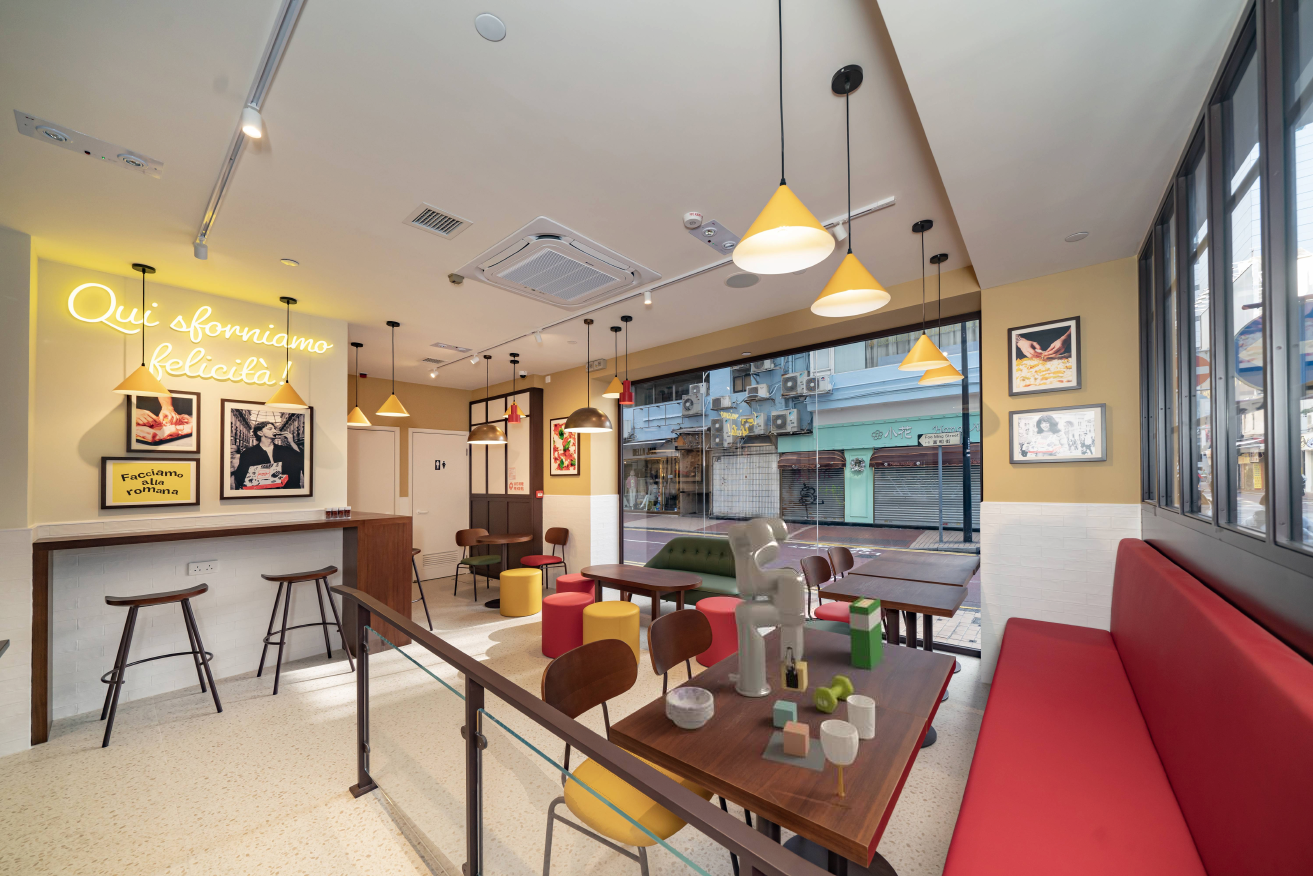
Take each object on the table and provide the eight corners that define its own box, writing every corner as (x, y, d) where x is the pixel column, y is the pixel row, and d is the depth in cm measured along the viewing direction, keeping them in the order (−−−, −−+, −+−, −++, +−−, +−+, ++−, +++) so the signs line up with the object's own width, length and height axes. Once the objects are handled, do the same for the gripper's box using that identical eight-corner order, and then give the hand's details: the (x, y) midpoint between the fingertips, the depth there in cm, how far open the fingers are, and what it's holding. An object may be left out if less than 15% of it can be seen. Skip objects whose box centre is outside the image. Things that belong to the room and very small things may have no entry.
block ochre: (782, 688, 142) (781, 666, 142) (786, 680, 147) (785, 659, 148) (803, 691, 139) (803, 669, 140) (807, 683, 145) (806, 662, 145)
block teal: (773, 727, 156) (773, 707, 156) (777, 719, 161) (777, 699, 162) (793, 731, 153) (792, 711, 154) (797, 723, 159) (796, 703, 159)
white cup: (874, 744, 145) (872, 708, 146) (845, 737, 149) (844, 702, 150) (878, 732, 152) (876, 698, 152) (851, 726, 156) (849, 692, 157)
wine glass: (853, 814, 116) (850, 741, 117) (815, 797, 122) (812, 729, 123) (867, 795, 123) (864, 726, 124) (830, 780, 129) (828, 715, 130)
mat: (761, 759, 138) (761, 757, 138) (774, 732, 153) (774, 730, 153) (822, 774, 132) (822, 771, 132) (830, 744, 146) (830, 741, 146)
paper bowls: (674, 737, 151) (673, 710, 152) (660, 714, 166) (660, 689, 166) (721, 729, 155) (720, 703, 156) (704, 708, 170) (703, 683, 170)
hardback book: (864, 653, 218) (862, 596, 220) (882, 656, 214) (880, 598, 215) (851, 665, 204) (849, 605, 206) (871, 670, 200) (868, 608, 201)
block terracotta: (783, 752, 141) (783, 730, 141) (788, 742, 146) (787, 720, 147) (805, 757, 138) (805, 734, 139) (809, 746, 144) (808, 724, 144)
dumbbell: (834, 716, 162) (833, 693, 163) (811, 709, 168) (810, 686, 169) (856, 700, 174) (855, 678, 175) (833, 693, 180) (833, 672, 180)
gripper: (785, 609, 154) (787, 670, 153) (772, 624, 139) (774, 692, 137) (810, 611, 151) (813, 674, 149) (800, 627, 135) (802, 697, 134)
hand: (794, 682), depth 143 cm, fingers closed on block ochre, 6 cm apart
